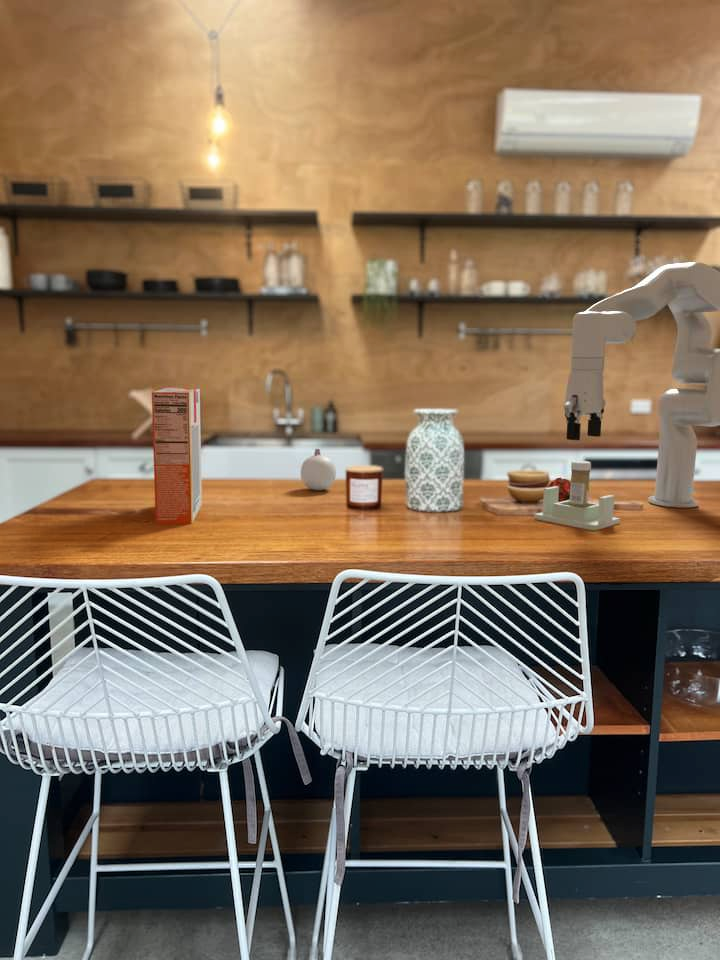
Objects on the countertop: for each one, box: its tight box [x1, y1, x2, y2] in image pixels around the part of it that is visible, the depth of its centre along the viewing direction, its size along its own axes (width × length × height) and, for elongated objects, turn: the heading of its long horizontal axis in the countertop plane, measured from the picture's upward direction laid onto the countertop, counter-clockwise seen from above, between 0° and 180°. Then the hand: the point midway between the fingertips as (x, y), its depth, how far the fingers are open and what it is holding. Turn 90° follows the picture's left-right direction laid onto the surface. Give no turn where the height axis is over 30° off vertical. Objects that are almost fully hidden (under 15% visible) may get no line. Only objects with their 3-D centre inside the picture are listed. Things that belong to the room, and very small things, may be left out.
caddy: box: [534, 486, 620, 532], centre depth 176 cm, size 12×16×7 cm
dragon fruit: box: [546, 477, 571, 502], centre depth 192 cm, size 8×8×12 cm
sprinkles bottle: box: [569, 460, 592, 508], centre depth 175 cm, size 5×5×13 cm
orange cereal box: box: [151, 387, 203, 525], centre depth 175 cm, size 23×8×30 cm, turn 6°
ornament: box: [300, 448, 337, 491], centre depth 211 cm, size 10×10×12 cm
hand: (583, 437), depth 174 cm, fingers open, 9 cm apart
